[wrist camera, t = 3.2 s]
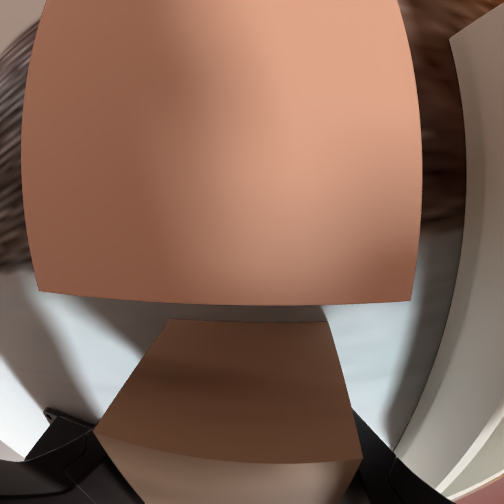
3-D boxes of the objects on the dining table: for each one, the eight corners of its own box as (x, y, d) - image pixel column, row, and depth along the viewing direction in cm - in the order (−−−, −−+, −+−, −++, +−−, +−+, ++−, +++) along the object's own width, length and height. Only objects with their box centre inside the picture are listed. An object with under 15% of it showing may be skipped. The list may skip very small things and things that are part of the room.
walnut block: (313, 424, 10) (320, 531, 5) (192, 419, 10) (158, 517, 5) (328, 321, 8) (363, 458, 4) (170, 318, 9) (92, 431, 4)
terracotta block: (333, 223, 8) (410, 300, 3) (160, 226, 8) (38, 290, 3) (326, 52, 6) (372, -63, 1) (155, 66, 7) (49, -5, 2)
